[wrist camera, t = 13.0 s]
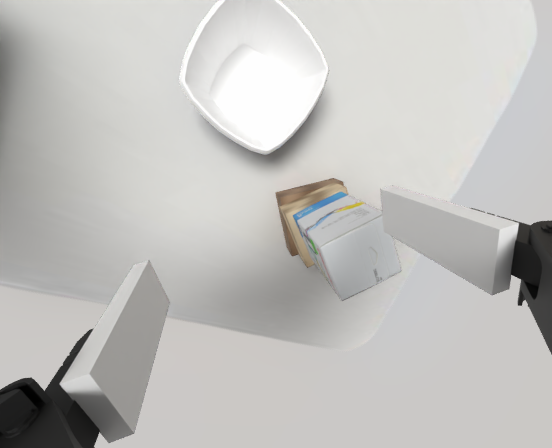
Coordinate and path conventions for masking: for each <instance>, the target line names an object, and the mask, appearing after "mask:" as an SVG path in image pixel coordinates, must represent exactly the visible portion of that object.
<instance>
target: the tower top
mask: <svg viewBox="0 0 552 448" xmlns="http://www.w3.org/2000/svg"><path fill="white" fill-rule="evenodd" d="M338 192H343V193H345V194H347V195H348V192H347V188H346V187H345V186H342V185H340V184H337V183H335V182H333V183H331V184H329V185H327V186H325V187H322V188H320V189H318V190H316V191H313V192H311V193H309V194H307V195H304V196H302V197H300V198H298V199H296V200H293V201H291V202H289V203H287V204H284V205H282V206H280V209H281V212H282V214H283V216H284V219H285V221H286V224H287V226H288V229H289V231H290V233H291V236H292V238H293V241H294V243H295V245H296V248H297V250H298V253H299V255H300V257H301V259H302V260H303V262H304V263H305V265H306V266H307V268H308V267H310V266H312V265H314V264H315V263H314V262H313V260H312V259H311V257H310V255H309V253H308V250H307V248H306V245H305V243H304V241H303V238H302V236H301V234H300V231H299V229H298V227H297V224H296V222H295V220H294V218H293V215H294V214H296V213H297V212H299V211H301V210H303V209H305V208H307V207H309V206H311V205H313V204H315V203H317V202H319V201H321V200H323V199H326V198H328V197H330V196H332V195H334V194H336V193H338Z"/></svg>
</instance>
